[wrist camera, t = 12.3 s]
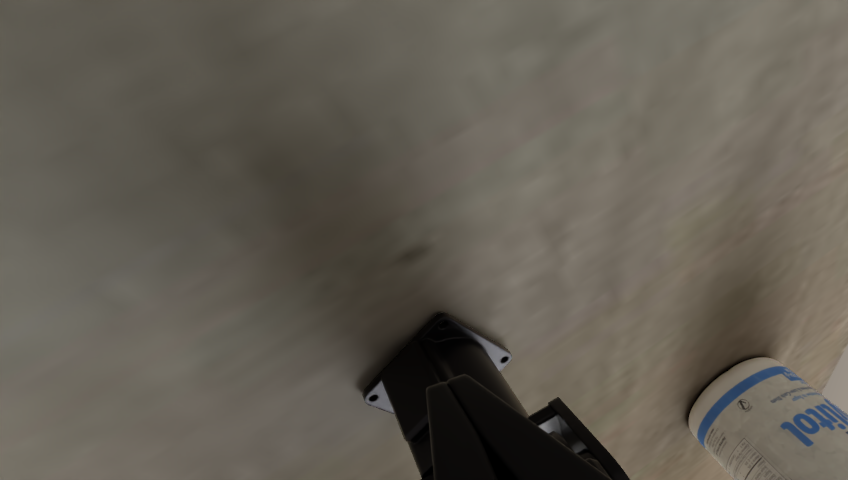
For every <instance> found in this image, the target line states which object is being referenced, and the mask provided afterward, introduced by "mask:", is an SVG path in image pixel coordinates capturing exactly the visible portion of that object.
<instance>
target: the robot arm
mask: <svg viewBox="0 0 848 480" xmlns="http://www.w3.org/2000/svg"><path fill="white" fill-rule="evenodd" d="M441 322H443V323H442V324H440V323H441ZM511 359H512V355H511V353H510V352H509V351H508V349H506V348H505V347H503V346H501V345H500V344H498V343H496V342H495V341H493V340H491V339H489V338H488V337H486V336H484V335H483V334H481V333H479V332H478V331H476V330H474V329H473V328H471V327H469V326H468V325H466V324H464V323H463V322H461V321H459V320H458V319H456V318H454V317H452V316H451V315H449V314H447V313H439V314H437V315H436V316H434V317H433V319H432V320H431V321H430V322H429V323H428V324H427V325H426V326H425V327H424V328H423V329H422V330H421V331H420V332H419V333H418V334H417V335H416V336H415V337H414V339H413V340H412V341H411V342H410V343H409V344H408V345H407V346H406V347H405V348H404V349H403V350H402V351H401V352H400V353H399V354H398V355H397V356H396V357H395V358H394V360H393V361H392V362H391V363H390V364H389V365H388V366H387V367H386V368H385V369H384V370H383V371H382V372H381V373H380V374H379V375H378V376H377V377H376V378H375V380H374V381H373V382H372V383H371V384H370V385H369V386H368V387H367V388H366V389H365V390H364V392H363V398H364V401H365V403H366V404H368V405H370V406H373V407H376V408H379V409H381V410H384V411H387V412H390V413H392V414H395V416H396V419H397V421H398V424H399V426H400V429H401V432H402V434H403V437H404V439H405V440H406V441H407V442H408V444H409V447H410V450H411V452H412V455H413V457H414V460H415V462H416V465H417V467H418V470H419V472H420V475H421V477H422V479H421V480H630V479H629V478H628V476H627V475H626V473H625V472H624V471H623V469H622V468H621V467H620V465H619V464H618V463H617V461H616V460H615V459H614V458H613V457H612V456H611V454H610V453H609V452H608V451H607V450H606V449H605V448H604V447H603V445H602V444H601V443H600V442H599V441H598V440H597V439H596V438H595V437H594V436H593V434H592V433H591V432H590V431H589V430H588V429H587V428H586V427H585V426H584V425H583V424H582V422H581V421H580V420H579V419H578V418H577V417H576V416H575V415H574V414H573V413H572V411H571V410H570V409H569V408H568V407H567V406H566V405H565V404H564V403H563V402H562V401H561V399H560V398H559V397H557V398H556V399H554V400H552V401H550V402H549V403H548V406H546V407H544V408H542V409H541V410H539V411H537V412H536V413H534V414H532V415H530V416H529V415H528V414H527V412H526V411H525V409H524V408H523V406H522V405H521V403H520V402H519V400H518V399H517V397H516V396H515V394H514V393H513V391H512V390H511V388H510V387H509V385H508V384H507V382H506V381H505V379H504V378H503V376H502V375H501V373H500V371H501V370H502V369H503V368H504V367H505V366H506V365H507V364H508V363H509V362H510V361H511Z"/></svg>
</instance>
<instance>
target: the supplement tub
mask: <svg viewBox="0 0 848 480" xmlns="http://www.w3.org/2000/svg"><path fill="white" fill-rule="evenodd" d="M689 428H690V431H691V433H692V434H693V435H694V437H695V438H696V439H697V440H698V441H699V442H700V443H701V444H702V445H703V446H704V447H705V448H706V449H707V450H708V452H709V453H710V454H711V455H712V456H713V457H714V458H715V459H716V460H717V461H718V462H719V463H720V465H721V466H722V467H723V468H724V469H725V470H726V471H727V472H728V473H729V474H730V475H731V476H732V477H733V479H734V480H848V415H847V414H846V413H845V412H843V411H842V410H841V409H839V408H838V407H837V406H836V405H834V404H833V403H831V402H830V401H829V400H828V399H827V398H825V397H824V396H823V395H822V394H820V393H819V392H818V391H816V390H815V389H814V388H813V387H811V386H810V385H809V384H807V383H806V382H805V381H804V380H802V379H801V378H800V377H798V376H797V375H796V374H795V373H793V372H792V371H791V370H789V369H788V368H787V367H785V366H784V365H783V364H782V363H780V362H778V361H777V360H775V359H772V358H767V357H760V358H753V359H750V360H747V361H744V362H742V363H740V364H737V365H735V366H733V367H732V368H731V369H730V370H729V371H727V372H725V373H724V374H722V375H720V376H719V377H718V378H717V379H715V380H714V381H713V382H712V383H711V384H710V385H709V386H708V387H707V388H706V389H705V390H704V391H703V392H702V393H701V395H700V396H699V397H698V399H697V400H696V402H695V404H694V405H693V407H692V409H691V412H690V415H689Z"/></svg>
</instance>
